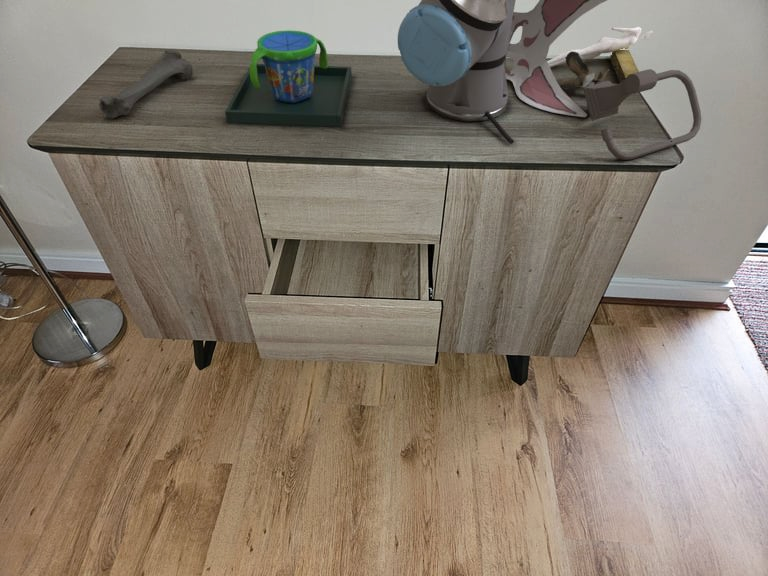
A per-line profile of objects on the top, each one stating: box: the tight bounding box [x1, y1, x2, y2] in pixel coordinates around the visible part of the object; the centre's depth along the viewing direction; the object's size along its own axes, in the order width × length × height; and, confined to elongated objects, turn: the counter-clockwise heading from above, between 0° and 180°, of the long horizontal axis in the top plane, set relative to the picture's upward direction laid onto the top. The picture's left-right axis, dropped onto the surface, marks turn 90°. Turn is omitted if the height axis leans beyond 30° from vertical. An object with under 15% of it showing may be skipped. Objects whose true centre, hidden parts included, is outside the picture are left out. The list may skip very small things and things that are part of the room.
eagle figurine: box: [557, 52, 610, 90], centre depth 102 cm, size 8×7×9 cm
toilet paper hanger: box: [582, 68, 702, 161], centre depth 91 cm, size 22×11×15 cm
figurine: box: [547, 26, 654, 68], centre depth 110 cm, size 10×4×25 cm
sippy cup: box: [249, 29, 329, 103], centre depth 96 cm, size 16×10×10 cm
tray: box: [224, 63, 353, 128], centre depth 99 cm, size 20×20×2 cm
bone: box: [98, 48, 194, 119], centre depth 98 cm, size 22×6×6 cm, turn 159°
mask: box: [504, 0, 608, 118], centre depth 103 cm, size 23×12×30 cm
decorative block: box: [609, 50, 640, 84], centre depth 109 cm, size 15×2×4 cm
